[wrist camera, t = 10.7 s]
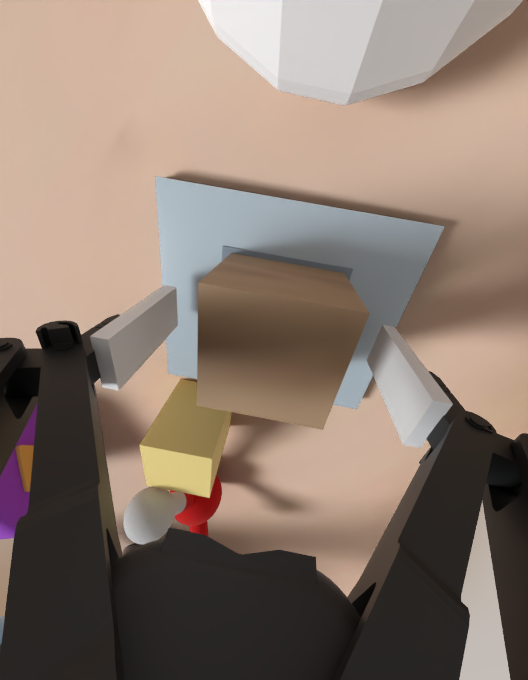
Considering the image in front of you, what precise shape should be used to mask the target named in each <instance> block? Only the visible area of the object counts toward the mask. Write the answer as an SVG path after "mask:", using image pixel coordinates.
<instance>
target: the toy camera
mask: <svg viewBox="0 0 528 680" xmlns="http://www.w3.org/2000/svg"><path fill="white" fill-rule="evenodd" d="M37 405H38V403H37ZM37 405H36V407H35V409H34V411H33V413H32V415H31V417H30V419H29V421H28V423H27V425H26V427H25V429H24V431H23V433H22V435H21V437H20V439H19V441H18V443H17V445H16V447H15V448H14V450H13V452H12V454H11V456H10V458H9V460H8V462H7V464H6V466H5V468H4V470H3V472H2V474H1V476H0V539H8V538H14V535H15V530H16V525H17V522H18V520H19V518H20V517H22V516H24V515H26V514H27V512H28V506H29V495H30V484H31V472H32V461H33V450H34V438H35V427H36V416H37Z"/></svg>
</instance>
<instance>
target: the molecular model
mask: <svg viewBox="0 0 528 680" xmlns="http://www.w3.org/2000/svg"><path fill="white" fill-rule="evenodd" d="M221 495H222V488H221V483H220V480H219V478H218V476H217V475H216V477H215V480H214V484H213V487H212V491H211V494H210V498H208V497H203V496H198V495H193V494H188V493H182V492H177V491H172V490H170V492H169V491H168V490H167V489H162V488H157V487H149V488H146V489H144V490H142V491H140V492H139V493H138V494H136V495H135V496H134V497H133V499H132V500H131V501H130V503H129V504H128V506H127V508H126V511H125V514H124V520H123V525H124V530H125V533H126V535H127V536H128V538H129V539H130V540H131V541H133V542H135V543H137V544H146V543H148V542H152V541H156V540H159V539H160V538H161V537H162V536H163V535H164V534H165V533H166V532H167V531H168V528H170V527H171V525H172V523H173V520H174V518H175V519H176V520H177V521H179V522H180V523H182V524H184V525H188V526H190V532H193V533H198V534H203V535H206V536H207V537H209V536H208V525H207V520H208V519H210V518H211V517H212V516H213V514H214V513H215V512H216V510H217V508H218V506H219V504H220V501H221Z"/></svg>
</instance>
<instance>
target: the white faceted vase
mask: <svg viewBox="0 0 528 680" xmlns="http://www.w3.org/2000/svg"><path fill="white" fill-rule="evenodd" d="M198 1H199V3H200V5H201V7H202V9H203V11H204V12H205V14H206V16H207V18H208V20H209V22H210V24H211V26H212V28H213V29H214V31H215V33H216V35H217V37H218V38H219V39H220V40H221V41H223V42H224V43H225V44H226V45H227V46H228V47H229V48H231V49H232V50H233V51H234V52H235V53H236V54H237V55H239V56H240V57H241V58H242V59H243V60H244V61H245V62H247V63H248V64H249V65H250V66H251V67H252V68H253V69H255V70H256V71H257V72H258V73H259V74H260V75H261V76H263V77H264V78H265V79H266V80H267V81H268V82H269V83H270V84H272V85H273V86H274V87H275V88H276V89H277V90H279V91H281V92H285V93H289V94H294V95H298V96H303V97H307V98H312V99H316V100H321V101H325V102H330V103H334V104H339V105H343V106H344V105H349V104H352V103H356V102H359V101H363V100H366V99H369V98H373V97H376V96H379V95H383V94H386V93H390V92H393V91H396V90H400V89H403V88H406V87H410V86H413V85H417V84H420V83H423V82H424V81H426V80H427V79H428V78H430V77H431V76H432V75H433V74H435V73H436V72H437V71H439V70H440V69H441V68H442V67H444V66H445V65H446V64H448V63H449V62H450V61H452V60H453V59H454V58H455V57H457V56H458V55H459V54H461V53H462V52H463V51H464V50H466V49H467V48H468V47H470V46H471V45H472V44H473V43H475V42H476V41H477V40H479V39H480V38H481V37H482V36H484V35H485V34H486V33H488V32H489V31H490V30H491V29H493V28H494V27H495V26H497V25H498V24H499V23H501V22H502V21H503V20H504V19H506V18H507V17H508V16H510V15H511V14H512V12H513V11H514V10H515V9H516V8H517V7H518V6H519V5H520V4H521V2H522V1H523V0H198Z"/></svg>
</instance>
